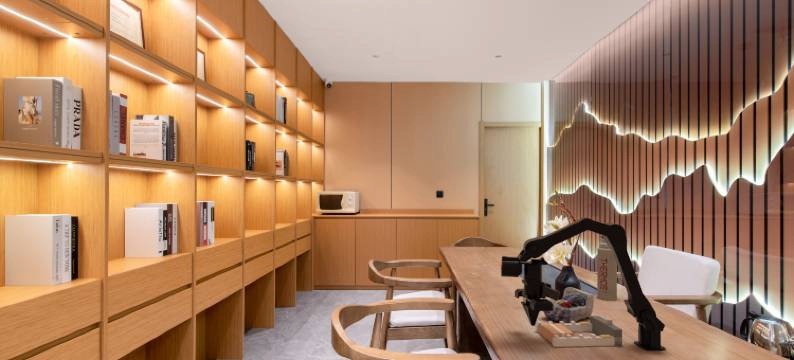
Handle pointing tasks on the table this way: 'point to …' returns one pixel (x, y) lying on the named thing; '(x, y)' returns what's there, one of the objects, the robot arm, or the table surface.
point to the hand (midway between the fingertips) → (532, 325)
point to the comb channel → (598, 325)
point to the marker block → (554, 331)
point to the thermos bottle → (606, 272)
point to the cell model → (571, 306)
